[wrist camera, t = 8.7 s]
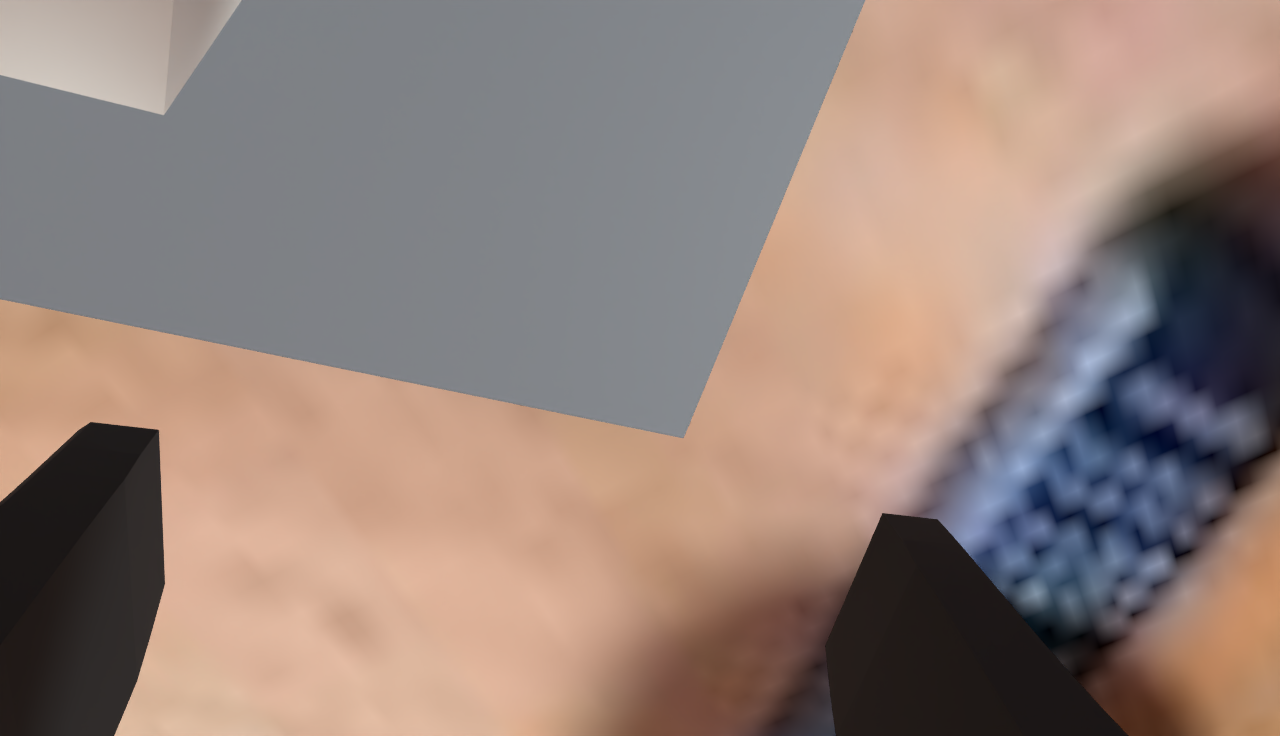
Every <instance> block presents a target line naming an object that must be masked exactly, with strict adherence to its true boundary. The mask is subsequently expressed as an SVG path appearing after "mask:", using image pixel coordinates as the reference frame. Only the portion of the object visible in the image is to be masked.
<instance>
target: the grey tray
mask: <svg viewBox="0 0 1280 736" xmlns="http://www.w3.org/2000/svg"><path fill="white" fill-rule="evenodd" d="M864 2H865V0H241V2H240V3H239V5H238V6H237V8H236V9H235V11H234V12H233V14H232V15H231V17H230V18H229V20H228V21H227V23H226V24H225V26H224V27H223V28H222V30H221V31H220V33H219V34H218V36H217V37H216V39H215V40H214V42H213V43H212V45H211V46H210V48H209V49H208V51H207V52H206V54H205V55H204V57H203V58H202V60H201V61H200V62H199V64H198V65H197V67H196V68H195V70H194V71H193V73H192V74H191V76H190V77H189V79H188V80H187V82H186V83H185V85H184V86H183V88H182V89H181V91H180V92H179V94H178V95H177V97H176V98H175V99H174V101H173V102H172V104H171V105H170V107H169V108H168V110H167V111H166V113H165V114H164V115H161V114H157V113H153V112H149V111H145V110H141V109H137V108H133V107H129V106H124V105H120V104H116V103H112V102H108V101H104V100H100V99H96V98H92V97H88V96H84V95H80V94H76V93H72V92H67V91H63V90H59V89H55V88H51V87H47V86H43V85H39V84H35V83H31V82H27V81H23V80H19V79H15V78H10V77H6V76H2V75H0V299H2V300H7V301H12V302H17V303H22V304H27V305H31V306H36V307H41V308H46V309H51V310H56V311H61V312H66V313H71V314H76V315H81V316H86V317H90V318H95V319H100V320H105V321H110V322H115V323H120V324H125V325H130V326H135V327H140V328H144V329H149V330H154V331H159V332H164V333H169V334H174V335H179V336H184V337H189V338H194V339H199V340H203V341H208V342H213V343H218V344H223V345H228V346H233V347H238V348H243V349H248V350H253V351H257V352H262V353H267V354H272V355H277V356H282V357H287V358H292V359H297V360H302V361H307V362H311V363H316V364H321V365H326V366H331V367H336V368H341V369H346V370H351V371H356V372H361V373H366V374H370V375H375V376H380V377H385V378H390V379H395V380H400V381H405V382H410V383H415V384H420V385H424V386H429V387H434V388H439V389H444V390H449V391H454V392H459V393H464V394H469V395H474V396H479V397H483V398H488V399H493V400H498V401H503V402H508V403H513V404H518V405H523V406H528V407H533V408H537V409H542V410H547V411H552V412H557V413H562V414H567V415H572V416H577V417H582V418H587V419H591V420H596V421H601V422H606V423H611V424H616V425H621V426H626V427H631V428H636V429H641V430H646V431H650V432H655V433H660V434H665V435H670V436H675V437H680V438H684V436H685V433H686V431H687V428H688V426H689V424H690V421H691V419H692V416H693V414H694V412H695V409H696V407H697V404H698V402H699V400H700V397H701V395H702V392H703V390H704V387H705V385H706V383H707V380H708V378H709V375H710V373H711V371H712V368H713V366H714V363H715V361H716V359H717V356H718V354H719V351H720V349H721V346H722V344H723V342H724V339H725V337H726V334H727V332H728V330H729V327H730V325H731V322H732V320H733V318H734V315H735V313H736V310H737V308H738V306H739V303H740V301H741V298H742V296H743V293H744V291H745V289H746V286H747V284H748V281H749V279H750V277H751V274H752V272H753V269H754V267H755V265H756V262H757V260H758V257H759V255H760V252H761V250H762V248H763V245H764V243H765V240H766V238H767V236H768V233H769V231H770V228H771V226H772V224H773V221H774V219H775V216H776V214H777V211H778V209H779V207H780V204H781V202H782V199H783V197H784V195H785V192H786V190H787V187H788V185H789V183H790V180H791V178H792V175H793V173H794V171H795V168H796V166H797V163H798V161H799V158H800V156H801V154H802V151H803V149H804V146H805V144H806V142H807V139H808V137H809V134H810V132H811V130H812V127H813V125H814V122H815V120H816V117H817V115H818V113H819V110H820V108H821V105H822V103H823V101H824V98H825V96H826V93H827V91H828V89H829V86H830V84H831V81H832V79H833V76H834V74H835V72H836V69H837V67H838V64H839V62H840V60H841V57H842V55H843V52H844V50H845V48H846V45H847V43H848V40H849V38H850V36H851V33H852V31H853V28H854V26H855V23H856V21H857V19H858V16H859V14H860V11H861V9H862V7H863V4H864Z"/></svg>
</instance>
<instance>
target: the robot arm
mask: <svg viewBox="0 0 1280 736" xmlns="http://www.w3.org/2000/svg"><path fill="white" fill-rule="evenodd" d="M164 585H165V575H164V549H163V524H162V499H161V474H160V448H159V430H154V429H146V428H137V427H128V426H120V425H111V424H102V423H94V422H90V423H89V424H87V425H86V426H84V427H83V428H81V429H80V430H78V431H77V432H76V433H75V434H74V435H73V436H72V437H71V438H70V439H69V440H68V441H66V442H65V443H64V444H63V445H62V446H61V447H60V448H59V449H58V450H57V451H56V452H55V453H54V454H53V455H51V456H50V457H49V458H48V459H47V460H46V461H45V462H44V463H43V464H42V465H41V466H40V467H39V468H37V469H36V470H35V471H34V472H33V473H32V474H31V475H30V476H29V477H28V478H27V479H26V480H24V481H23V482H22V483H21V484H20V485H19V486H18V487H17V488H16V489H15V490H13V491H12V492H11V493H10V494H9V495H8V496H7V497H6V498H4V499H3V500H2V501H1V502H0V736H114V735H115V732H116V730H117V728H118V725H119V723H120V720H121V718H122V716H123V713H124V711H125V709H126V706H127V704H128V701H129V699H130V697H131V694H132V692H133V689H134V687H135V684H136V682H137V679H138V676H139V672H140V669H141V666H142V662H143V659H144V656H145V652H146V649H147V646H148V642H149V639H150V635H151V632H152V628H153V625H154V621H155V617H156V614H157V610H158V607H159V603H160V599H161V596H162V592H163V589H164ZM825 648H826V657H827V667H828V677H829V686H830V696H831V703H832V711H833V718H834V726H835V733H836V736H1128V735H1127V734H1126V733H1125V732H1124V731H1123V730H1122V728H1121V727H1120V726H1119V725H1118V724H1117V723H1116V722H1115V721H1114V720H1113V719H1112V718H1111V717H1110V716H1109V715H1108V714H1107V713H1106V712H1105V711H1104V710H1103V709H1102V707H1101V706H1100V705H1099V704H1098V703H1097V702H1096V701H1095V700H1094V699H1093V698H1092V697H1091V696H1090V694H1089V693H1088V692H1087V691H1086V690H1085V689H1084V688H1083V687H1082V686H1081V685H1080V684H1079V682H1078V681H1077V680H1076V679H1075V678H1074V677H1073V676H1072V675H1071V673H1070V672H1069V671H1068V670H1067V669H1066V668H1065V667H1064V666H1063V664H1062V663H1061V662H1060V661H1059V660H1058V659H1057V658H1056V657H1055V655H1054V654H1053V653H1052V652H1051V651H1050V650H1049V649H1048V647H1047V646H1046V645H1045V644H1044V643H1043V642H1042V640H1041V639H1040V638H1039V637H1038V636H1037V635H1036V634H1035V632H1034V631H1033V630H1032V629H1031V628H1030V627H1029V625H1028V624H1027V623H1026V622H1025V621H1024V620H1023V618H1022V617H1021V616H1020V615H1019V614H1018V612H1017V611H1016V610H1015V609H1014V608H1013V607H1012V605H1011V604H1010V603H1009V602H1008V601H1007V599H1006V598H1005V597H1004V596H1003V595H1002V594H1001V592H1000V591H999V590H998V589H997V588H996V586H995V585H994V584H993V583H992V582H991V581H990V579H989V578H988V577H987V576H986V575H985V573H984V572H983V571H982V570H981V569H980V567H979V566H978V565H977V564H976V563H975V562H974V560H973V559H972V558H971V557H970V556H969V554H968V553H967V552H966V551H965V550H964V549H963V547H962V546H961V545H960V544H959V543H958V542H957V541H956V539H955V538H954V537H953V536H952V535H951V534H950V533H949V532H948V530H947V529H946V528H945V527H944V526H943V525H942V524H941V523H940V522H939V521H938V520H937V519H928V518H920V517H911V516H902V515H894V514H885V513H882V516H881V518H880V520H879V523H878V525H877V527H876V530H875V532H874V534H873V537H872V539H871V541H870V544H869V546H868V548H867V550H866V553H865V555H864V557H863V560H862V562H861V564H860V567H859V569H858V571H857V574H856V576H855V578H854V581H853V583H852V585H851V588H850V590H849V592H848V595H847V597H846V599H845V601H844V604H843V606H842V608H841V611H840V613H839V615H838V618H837V620H836V622H835V625H834V627H833V629H832V632H831V634H830V636H829V639H828V641H827V643H826V646H825Z"/></svg>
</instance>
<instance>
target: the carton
mask: <svg viewBox="0 0 1280 736" xmlns="http://www.w3.org/2000/svg"><path fill="white" fill-rule="evenodd" d="M240 2H241V0H0V75H2V76H6V77H10V78H15V79H19V80H23V81H27V82H31V83H35V84H39V85H43V86H47V87H51V88H55V89H59V90H63V91H67V92H72V93H76V94H80V95H84V96H88V97H92V98H96V99H100V100H104V101H108V102H112V103H116V104H120V105H124V106H129V107H133V108H137V109H141V110H145V111H149V112H153V113H157V114H161V115H164V114H165V113H166V111H167V110H168V108H169V107H170V105H171V104H172V102H173V101H174V99H175V98H176V97H177V95H178V94H179V92H180V91H181V89H182V88H183V86H184V85H185V83H186V82H187V80H188V79H189V77H190V76H191V74H192V73H193V71H194V70H195V68H196V67H197V65H198V64H199V62H200V61H201V60H202V58H203V57H204V55H205V54H206V52H207V51H208V49H209V48H210V46H211V45H212V43H213V42H214V40H215V39H216V37H217V36H218V34H219V33H220V31H221V30H222V28H223V27H224V26H225V24H226V23H227V21H228V20H229V18H230V17H231V15H232V14H233V12H234V11H235V9H236V8H237V6H238V5H239V3H240Z"/></svg>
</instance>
